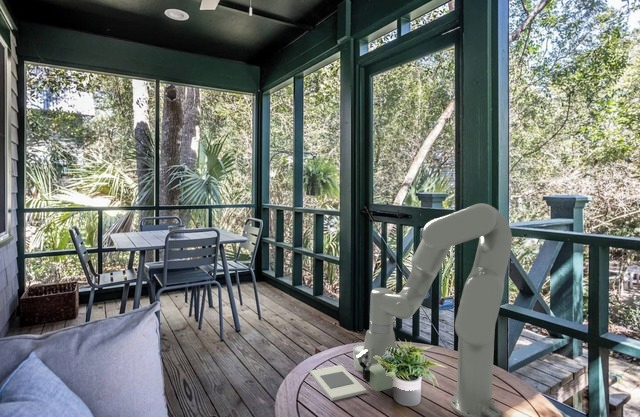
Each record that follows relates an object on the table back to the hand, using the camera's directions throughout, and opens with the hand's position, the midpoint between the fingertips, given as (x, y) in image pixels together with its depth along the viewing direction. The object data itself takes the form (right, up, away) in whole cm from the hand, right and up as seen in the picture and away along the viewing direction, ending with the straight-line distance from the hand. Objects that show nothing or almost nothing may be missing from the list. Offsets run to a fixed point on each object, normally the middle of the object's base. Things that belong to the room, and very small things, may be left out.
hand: (379, 377), depth 123 cm
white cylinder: (-4, -2, +11) cm, 12 cm away
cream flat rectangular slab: (-14, -2, 0) cm, 14 cm away
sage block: (0, -2, 0) cm, 2 cm away
